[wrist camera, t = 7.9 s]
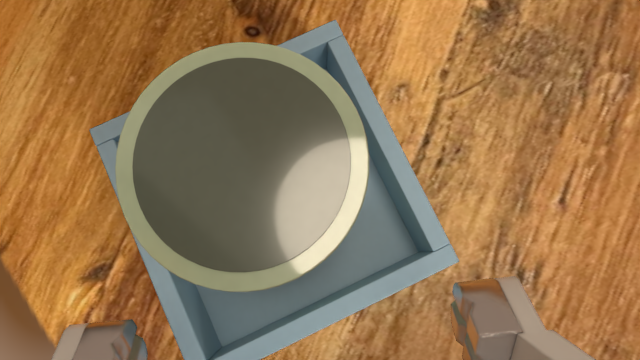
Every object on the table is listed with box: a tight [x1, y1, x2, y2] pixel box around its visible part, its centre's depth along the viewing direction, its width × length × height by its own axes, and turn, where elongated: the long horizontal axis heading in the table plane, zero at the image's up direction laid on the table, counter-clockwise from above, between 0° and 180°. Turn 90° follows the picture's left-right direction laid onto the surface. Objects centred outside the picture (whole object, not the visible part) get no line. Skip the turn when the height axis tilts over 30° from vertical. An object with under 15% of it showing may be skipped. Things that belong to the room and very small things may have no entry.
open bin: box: [90, 20, 459, 360], centre depth 21 cm, size 12×12×4 cm
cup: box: [115, 42, 369, 292], centre depth 17 cm, size 7×7×10 cm
